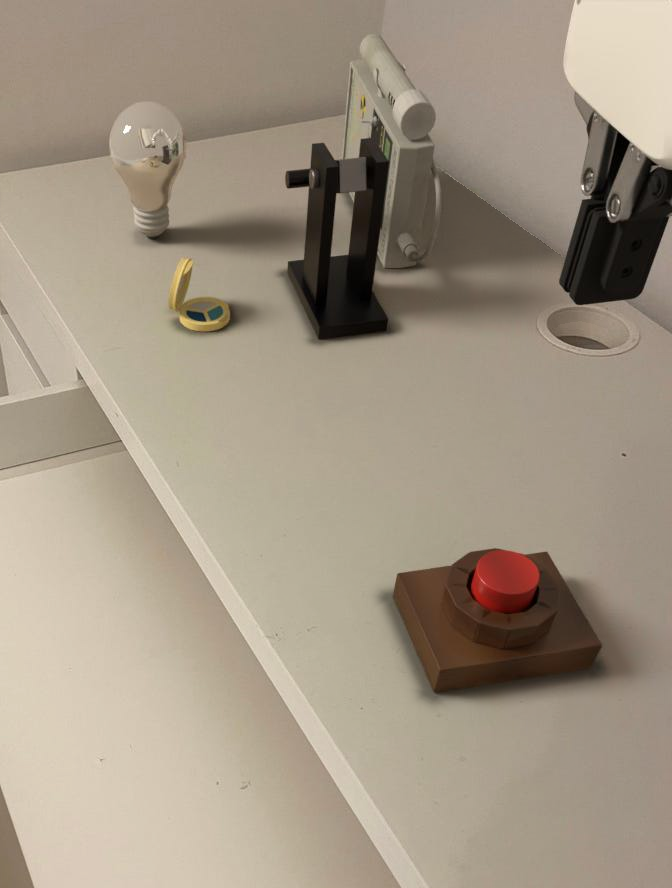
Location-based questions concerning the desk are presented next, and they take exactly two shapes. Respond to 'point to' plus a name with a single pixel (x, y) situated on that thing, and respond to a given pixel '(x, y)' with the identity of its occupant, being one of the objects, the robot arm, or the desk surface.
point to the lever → (348, 176)
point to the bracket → (347, 276)
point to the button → (505, 581)
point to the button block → (492, 627)
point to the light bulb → (148, 161)
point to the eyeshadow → (196, 303)
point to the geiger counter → (393, 147)
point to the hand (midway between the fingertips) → (598, 291)
